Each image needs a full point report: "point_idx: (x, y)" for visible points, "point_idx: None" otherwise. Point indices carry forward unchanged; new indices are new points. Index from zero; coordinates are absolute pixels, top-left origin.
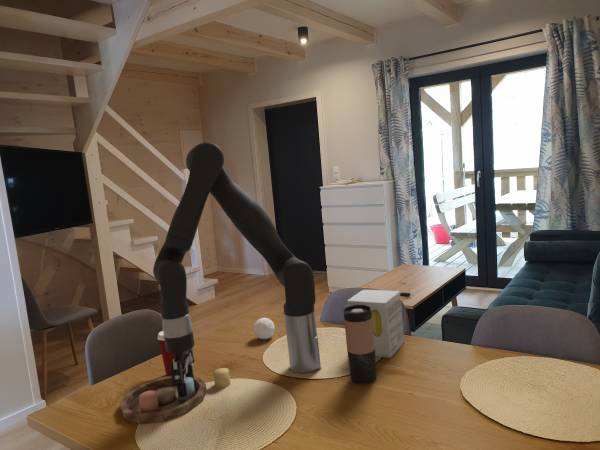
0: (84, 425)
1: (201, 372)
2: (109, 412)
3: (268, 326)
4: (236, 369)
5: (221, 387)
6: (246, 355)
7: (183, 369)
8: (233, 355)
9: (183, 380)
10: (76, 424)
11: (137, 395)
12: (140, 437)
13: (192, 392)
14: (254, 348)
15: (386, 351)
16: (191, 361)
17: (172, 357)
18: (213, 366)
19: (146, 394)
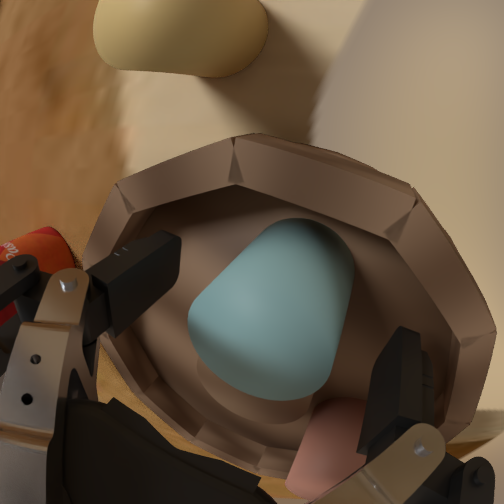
0: (283, 483)
1: (53, 163)
2: None
3: None
4: (74, 10)
5: (255, 29)
6: (19, 12)
7: (273, 501)
8: (6, 59)
9: (437, 462)
10: (269, 485)
11: (189, 412)
12: (468, 434)
13: (332, 260)
14: (4, 5)
15: None
16: (61, 364)
17: (10, 306)
18: (32, 117)
19: (320, 492)
